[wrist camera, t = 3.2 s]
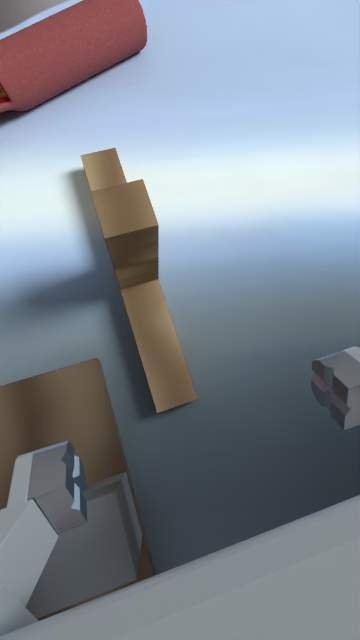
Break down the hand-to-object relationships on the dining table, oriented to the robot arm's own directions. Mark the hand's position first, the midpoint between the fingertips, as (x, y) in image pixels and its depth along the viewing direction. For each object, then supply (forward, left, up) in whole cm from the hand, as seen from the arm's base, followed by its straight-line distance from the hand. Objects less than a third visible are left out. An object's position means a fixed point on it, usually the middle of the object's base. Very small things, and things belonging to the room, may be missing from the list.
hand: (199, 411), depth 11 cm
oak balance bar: (0, -11, -15) cm, 19 cm away
